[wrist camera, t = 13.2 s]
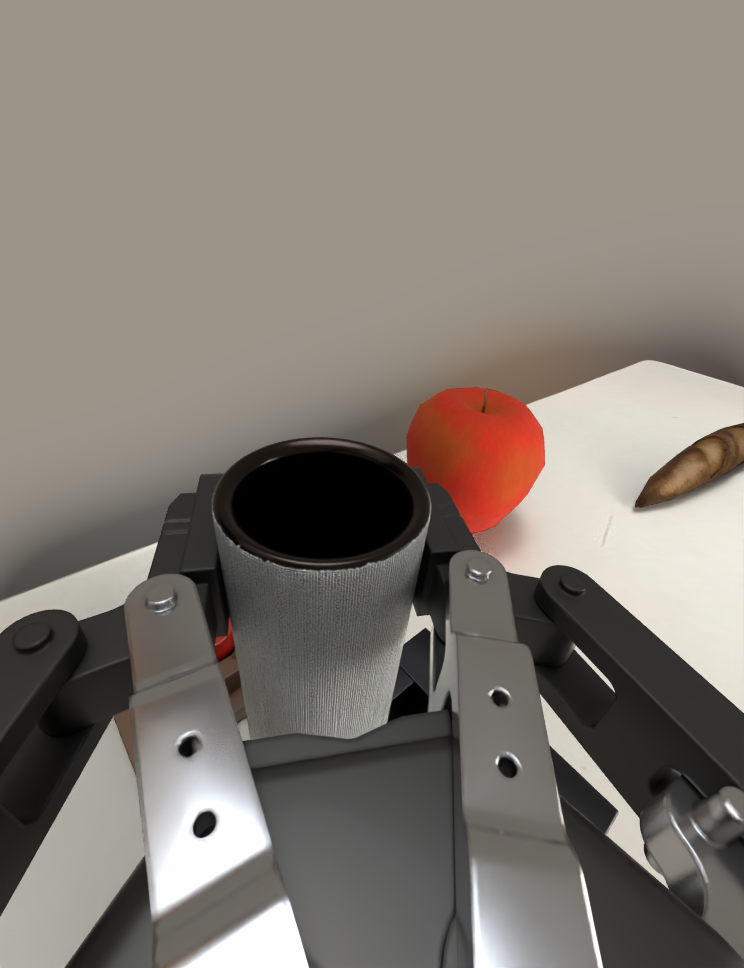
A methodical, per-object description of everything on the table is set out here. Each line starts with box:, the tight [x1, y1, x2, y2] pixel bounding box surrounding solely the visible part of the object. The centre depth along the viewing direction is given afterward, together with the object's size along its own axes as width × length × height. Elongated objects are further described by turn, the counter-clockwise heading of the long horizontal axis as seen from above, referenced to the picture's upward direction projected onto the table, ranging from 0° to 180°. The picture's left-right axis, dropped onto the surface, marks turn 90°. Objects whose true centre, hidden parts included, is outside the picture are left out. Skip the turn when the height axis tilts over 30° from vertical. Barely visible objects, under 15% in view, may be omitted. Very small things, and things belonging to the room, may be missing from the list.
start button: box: [215, 617, 235, 661], centre depth 27 cm, size 4×4×2 cm
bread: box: [635, 423, 744, 508], centre depth 54 cm, size 38×5×5 cm, turn 124°
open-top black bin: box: [387, 628, 618, 835], centre depth 20 cm, size 14×12×6 cm
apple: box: [407, 387, 545, 533], centre depth 39 cm, size 12×12×14 cm
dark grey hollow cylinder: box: [212, 437, 431, 740], centre depth 12 cm, size 4×4×10 cm
